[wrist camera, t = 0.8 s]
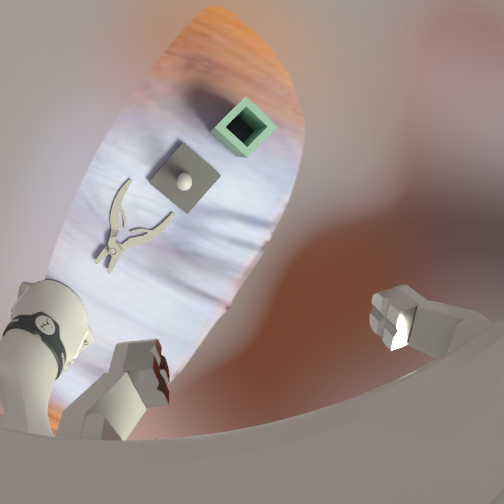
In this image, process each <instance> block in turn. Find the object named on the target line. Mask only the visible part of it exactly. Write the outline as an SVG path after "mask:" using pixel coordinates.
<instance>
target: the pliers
mask: <svg viewBox="0 0 504 504" xmlns="http://www.w3.org/2000/svg"><path fill="white" fill-rule="evenodd" d="M132 181H133V180H131V179H129V180H128V181H127V182H126V183H125V184H124V186H123V187H122V188H121V189H120V191H119V192H118V194H117V196H116V198H115V200H114V203H113V206H112V210H111V215H110V223H111V234H110V239H109V242H108V245H106V247H105V248H104V249H103V251H102V252H101V253H100V255H99V256H98V258H97V259H96V260H95V263H96V264H98V263H99V262H100V261H101V260H102V259H103V258H105V257H106V256H107V255H108V254H110V255H111V256H112V258H111V261H110V264H109V268H108V271H107V272H108V273H111V271H112V269H113V268H114V266H115V264H116V263H117V261H118V259H119V257H120V255H121V252H123V251H124V250H126V249H127V248H129V247H131V246H135V245H142V244H144V243H147V242H149V241H151V240H152V239H154V238H155V237H157V236H158V235H159V234H160V233H161V232H162V231H163V230H164V229H165V228H166V227H167V226H168V225H169V223H170V222H171V220H172V218H173V217H174V215H175V214H174V213H173V212H172V213H171V214H170V215H169V216H168V217H167V218H166V219H165V220H164V221H163V222H162V223H161V224H160V225H159V226H157V227H156V228H155V229H153V230H149V229H145V228H139V229H135V230H132V231H130V232H131V233H132V232H135V231H145V232H147V234H145V235H141V236H136V237H131V238H129V239H128V240H127V241H126V242H124V243H123V244H122V243H119V242H117V241H116V239H117V236H118V233H119V230H120V227H119V211H120V212H121V214H122V216H123V218H124V228H126V217H125V214H124V211H123V210H122V207H121V203H122V200H123V197H124V195H125V193H126V191H127V189H128V187H129V185H130V184H131V182H132Z"/></svg>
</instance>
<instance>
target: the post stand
mask: <svg viewBox="0 0 504 504" xmlns="http://www.w3.org/2000/svg"><path fill="white" fill-rule="evenodd" d="M220 176H221V175H220V174H219V173H218V172H216V171H215V170H214V169H213V168H212V167H211V166H210V165H208V164H207V163H206V162H205V161H204V160H203V159H202V158H200V157H199V156H198V155H197V154H196V153H195V152H194V151H192V150H191V149H190V148H189V147H188V146H187V145H185V144H184V143H182V144H181V145H180V146H179V147H178V149H177V150H176V151H175V152H174V153H173V154H172V155H171V157H170V158H169V159H168V160H167V161H166V162H165V164H164V165H163V166H162V167H161V168H160V169H159V171H158V172H157V173H156V174H155V175H154V177H153V178H152V179H151V180H150V182H149V183H151V184H152V185H153V186H154V187H155V188H157V189H158V190H159V191H160V192H161V193H163V194H164V195H165V196H166V197H167V198H169V199H170V200H171V201H172V202H173V203H175V204H176V205H177V206H178V207H180V208H181V209H182V210H183V211H184V212H186V213H187V214H188V213H189V212H190V210H191V209H192V208H193V207H194V206H195V205H196V203H197V202H198V201H199V200H200V199H201V198H202V197H203V195H204V194H205V193H206V192H207V191H208V190H209V189H210V188H211V186H212V185H213V184H214V183H215V182H216V181H217V180H218V179H219V178H220Z"/></svg>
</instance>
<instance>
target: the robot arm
mask: <svg viewBox="0 0 504 504" xmlns="http://www.w3.org/2000/svg"><path fill="white" fill-rule="evenodd" d="M372 305H373V306H374V308H373V309H372V311H371V312H370V325H371V328H372V329H373V331H374V332H375V333H376V334H377V335H379V336H382V341H383V342H384V343H385V344H386V346H387V347H388V348H389V349H390V350H394V349H396V348H399V347H402V346H404V345H407V344H408V346H411V347H413V348H415V349H417V350H419V351H422V352H424V353H426V354H428V355H430V356H433V357H435V358H437V360H435V361H434V362H432V363H430V364H428V365H426V366H424V367H422V368H420V369H418V370H416V371H414V372H412V373H410V374H408V375H406V376H404V377H402V378H399V379H397V380H395V381H393V382H390V383H388V384H386V385H384V386H381V387H379V388H377V389H374V390H372V391H369V392H367V393H364V394H362V395H359V396H356V397H354V398H351V399H348V400H345V401H343V402H340V403H337V404H334V405H331V406H328V407H325V408H322V409H319V410H315V411H312V412H309V413H305V414H302V415H298V416H295V417H291V418H287V419H284V420H280V421H275V422H272V423H267V424H263V425H258V426H253V427H249V428H244V429H238V430H233V431H227V432H221V433H214V434H208V435H200V436H191V437H182V438H170V439H155V440H130V441H129V440H126V439H127V437H128V436H129V434H130V433H131V431H132V430H133V428H134V427H135V425H136V424H137V423H138V421H139V420H140V418H141V417H142V415H143V414H144V412H145V411H146V408H150V407H159V406H167V405H169V389H168V387H167V385H168V383H169V382H170V376H169V368H168V365H167V361H166V358H165V357H164V356H163V355H161V350H162V347H161V345H160V342H159V340H158V339H150V340H140V341H131V342H121V343H118V344H116V347H115V350H114V354H113V357H112V361H111V365H110V369H109V373H105V374H103V375H102V376H101V377H100V378H99V379H98V380H97V381H96V382H95V383H94V384H92V385H91V386H90V387H89V388H88V389H87V390H86V391H85V392H84V393H83V394H81V395H80V396H79V397H78V398H77V399H76V400H75V401H74V402H73V403H72V404H71V405H69V406H68V407H67V408H66V409H65V410H64V411H63V414H62V417H61V420H60V424H59V427H58V431H57V435H56V437H54V435H53V433H52V430H51V427H50V424H49V420H48V402H49V398H50V394H51V390H52V387H53V384H54V382H55V380H56V379H57V378H58V377H59V376H60V374H61V372H62V371H63V370H64V371H66V372H67V371H68V370H69V368H70V366H71V364H73V363H74V361H75V358H76V357H77V355H78V354H80V353H81V352H82V351H83V350H84V349H85V348H86V347H88V346H89V345H90V344H91V343H92V342H93V340H94V335H93V333H92V331H91V329H90V327H89V325H88V318H87V313H86V310H85V308H84V306H83V304H82V302H81V301H80V299H79V298H78V297H77V295H76V294H75V293H74V292H73V291H72V290H70V289H69V288H68V287H66V286H65V285H63V284H61V283H59V282H56V281H52V280H42V281H39V282H36V283H28V282H23V283H22V284H21V285H20V287H19V294H18V300H17V302H16V303H15V304H14V306H13V307H12V309H11V311H12V315H11V322H10V323H9V324H8V325H7V327H6V329H5V331H4V333H3V337H2V339H1V341H0V404H1V405H2V406H3V408H4V410H5V412H6V413H5V414H4V415H0V504H504V318H502V319H501V320H500V321H498V322H497V323H495V324H493V323H491V322H490V321H489V320H488V319H486V318H485V317H484V316H482V315H481V314H480V313H478V312H476V311H471V310H467V309H463V308H459V307H455V306H451V305H447V304H442V303H438V302H434V301H427V300H426V299H424V298H423V297H422V296H421V295H419V294H418V293H417V292H415V291H414V290H412V289H411V288H410V287H408V286H407V285H401V286H398V287H395V288H393V289H390V290H387V291H383V292H380V293H376V294H374V295H373V298H372ZM85 340H86V341H85Z"/></svg>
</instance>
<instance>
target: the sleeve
mask: <svg viewBox="0 0 504 504" xmlns="http://www.w3.org/2000/svg"><path fill="white" fill-rule="evenodd" d="M237 115H238V116H239V117H240V118H241V119H242V120H243V121H244V122H245V123H246V124H248V125H249V126H250V127H251V128H252V129H253V130H254V131H253V132H252V133H251V134H250V135H249V136H248V137H247V138H246V139H245V141H244V142H243V143H242V142H241V141H240V140H239V139H238V138H237V137H236V136H235V135H234V134H232V133H231V132H230V131H229V130H228V129H227V128H226V126H227V125H228V124H229V123H230V122H231V121H232V120H233V119H234V118H235V117H236V116H237ZM276 128H277V126H276V125H275V124H274V123H273V122H272V121H271V120H270V119H269V118H268V117H267V116H266V115H265V114H264V113H263V112H262V111H261V110H260V109H259V108H258V107H257V106H256V105H255V104H254V103H253V102H251V101H250V100H249V99H248V98H247V97H245V98H244V99H243V100H242V101H240V102H239V103H238V104H237V105H236V106H235V107H234V108H233V109H232V110H231V111H230V112H229V113H228V114H227V115H226V116H225V117H224V118H223V119H222V120H221V121H220V122H219V123H218V124H217V125H216V126H215V127H214V128H213V129H212V130H211V131H210V133H211V134H213V135H214V136H215V137H216V138H217V139H218V140H219V141H220V142H222V143H223V144H224V145H225V146H226V147H227V148H228V149H229V150H230V151H232V152H233V153H234V154H235V155H236V156H237V157H246V158H248V157H249V156H250V155H251V154H252V153H253V152H254V150H255V149H256V148H257V147H258V146H259V145H260V144H261V143H262V142H263V141H264V140H265V139H266V138H267V137H268V136H269V135H270V134H271V133H272V132H273V131H274V130H275V129H276Z"/></svg>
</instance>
